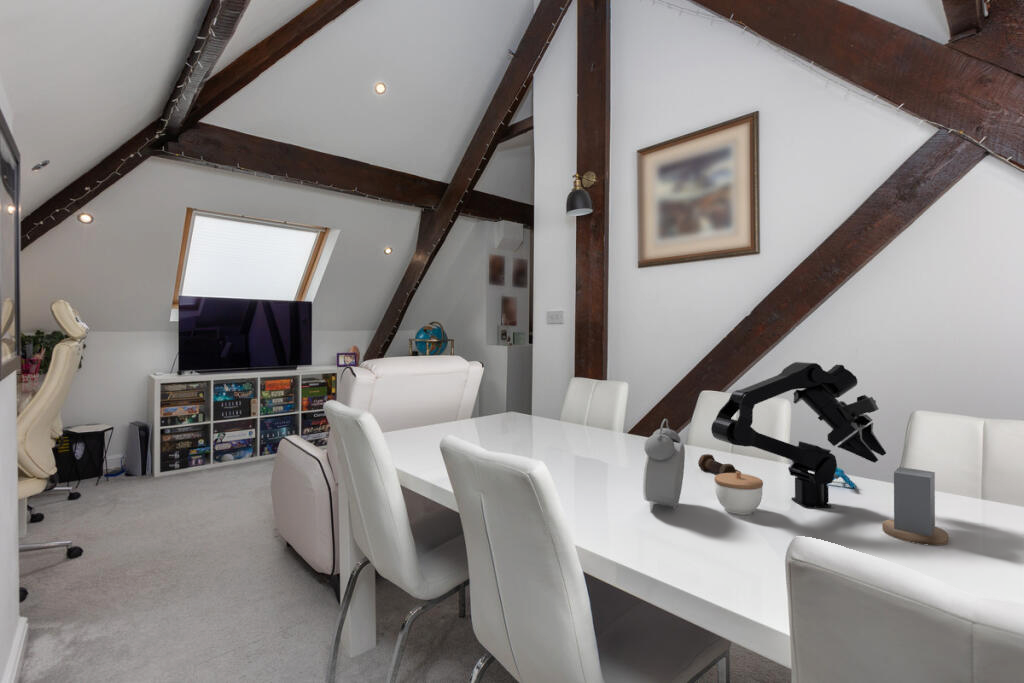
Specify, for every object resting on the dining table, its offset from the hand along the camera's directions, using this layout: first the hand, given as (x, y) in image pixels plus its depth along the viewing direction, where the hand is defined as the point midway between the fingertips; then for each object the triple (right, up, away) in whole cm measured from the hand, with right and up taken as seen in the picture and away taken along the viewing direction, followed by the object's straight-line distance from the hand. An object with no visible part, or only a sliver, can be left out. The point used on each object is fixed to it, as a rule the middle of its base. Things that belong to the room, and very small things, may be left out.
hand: (880, 457), depth 117 cm
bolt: (-23, -14, +35) cm, 44 cm away
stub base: (-1, -14, -11) cm, 18 cm away
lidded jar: (-31, -14, +5) cm, 34 cm away
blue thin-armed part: (+6, -14, +24) cm, 28 cm away
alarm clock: (-48, -14, +8) cm, 51 cm away
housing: (-1, -12, -11) cm, 17 cm away
